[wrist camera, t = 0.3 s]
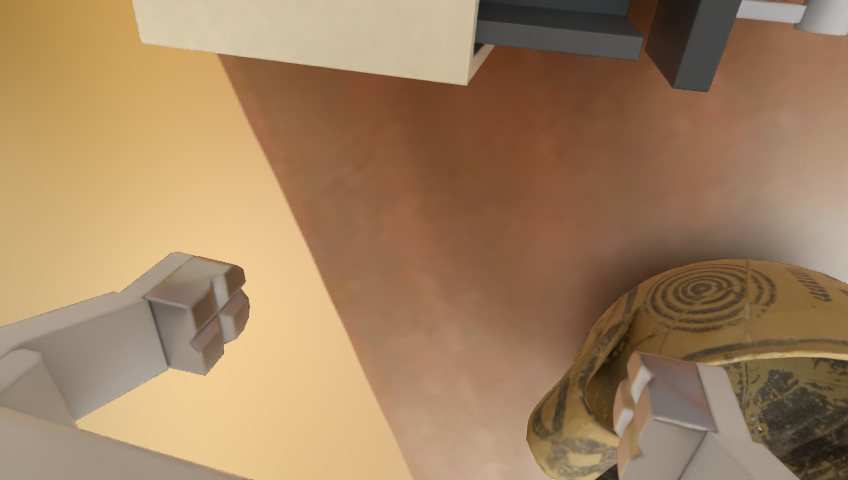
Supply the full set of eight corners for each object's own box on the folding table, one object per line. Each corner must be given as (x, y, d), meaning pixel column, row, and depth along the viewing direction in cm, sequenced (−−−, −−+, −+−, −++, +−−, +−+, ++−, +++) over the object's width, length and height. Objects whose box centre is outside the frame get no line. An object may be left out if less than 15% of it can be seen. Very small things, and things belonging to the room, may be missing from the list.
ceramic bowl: (480, 313, 34) (431, 522, 22) (666, 117, 25) (764, 287, 13) (728, 474, 36) (813, 751, 24) (986, 347, 27) (1347, 692, 15)
